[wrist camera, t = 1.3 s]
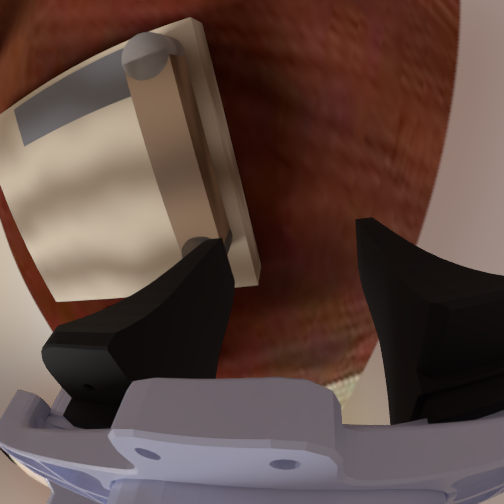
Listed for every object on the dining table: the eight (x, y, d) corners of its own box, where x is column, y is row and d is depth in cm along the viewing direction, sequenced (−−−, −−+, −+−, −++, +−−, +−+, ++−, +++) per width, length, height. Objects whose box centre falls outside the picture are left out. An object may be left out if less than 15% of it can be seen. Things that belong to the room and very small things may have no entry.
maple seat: (261, 265, 25) (257, 286, 22) (68, 286, 29) (55, 302, 27) (202, 23, 16) (190, 16, 14) (1, 121, 20) (-19, 129, 18)
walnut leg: (137, 45, 14) (116, 43, 12) (179, 30, 14) (162, 24, 12) (199, 255, 21) (189, 277, 19) (236, 250, 21) (230, 272, 19)
